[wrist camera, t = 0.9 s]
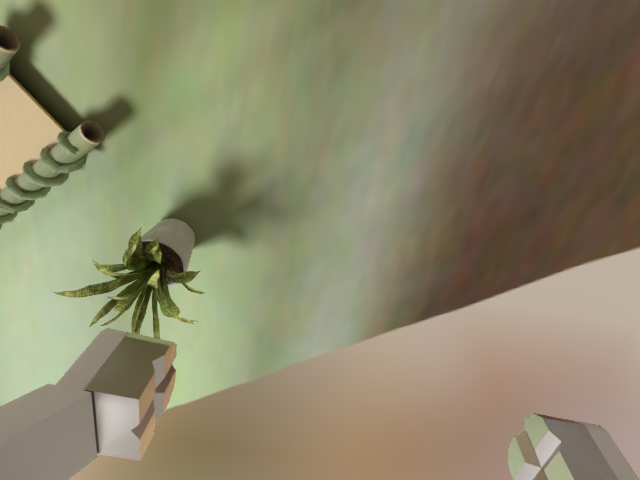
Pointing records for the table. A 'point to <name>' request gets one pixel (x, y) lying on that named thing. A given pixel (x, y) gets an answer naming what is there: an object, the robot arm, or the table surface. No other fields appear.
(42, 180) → the stretcher
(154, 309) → the house plant
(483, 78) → the table surface
